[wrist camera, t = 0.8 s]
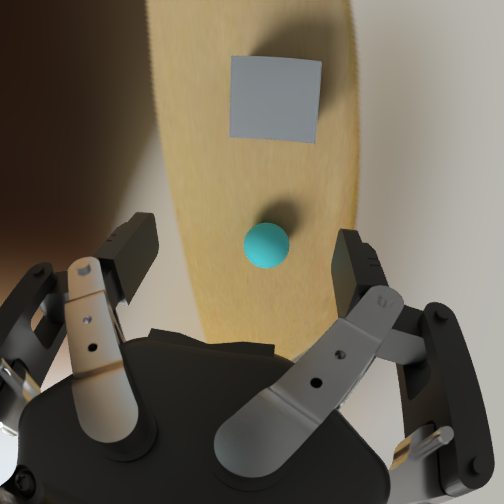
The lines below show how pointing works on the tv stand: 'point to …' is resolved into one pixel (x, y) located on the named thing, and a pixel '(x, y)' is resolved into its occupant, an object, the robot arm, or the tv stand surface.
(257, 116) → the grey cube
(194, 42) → the tv stand surface
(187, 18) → the tv stand surface
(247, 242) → the ball
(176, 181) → the tv stand surface
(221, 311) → the tv stand surface
